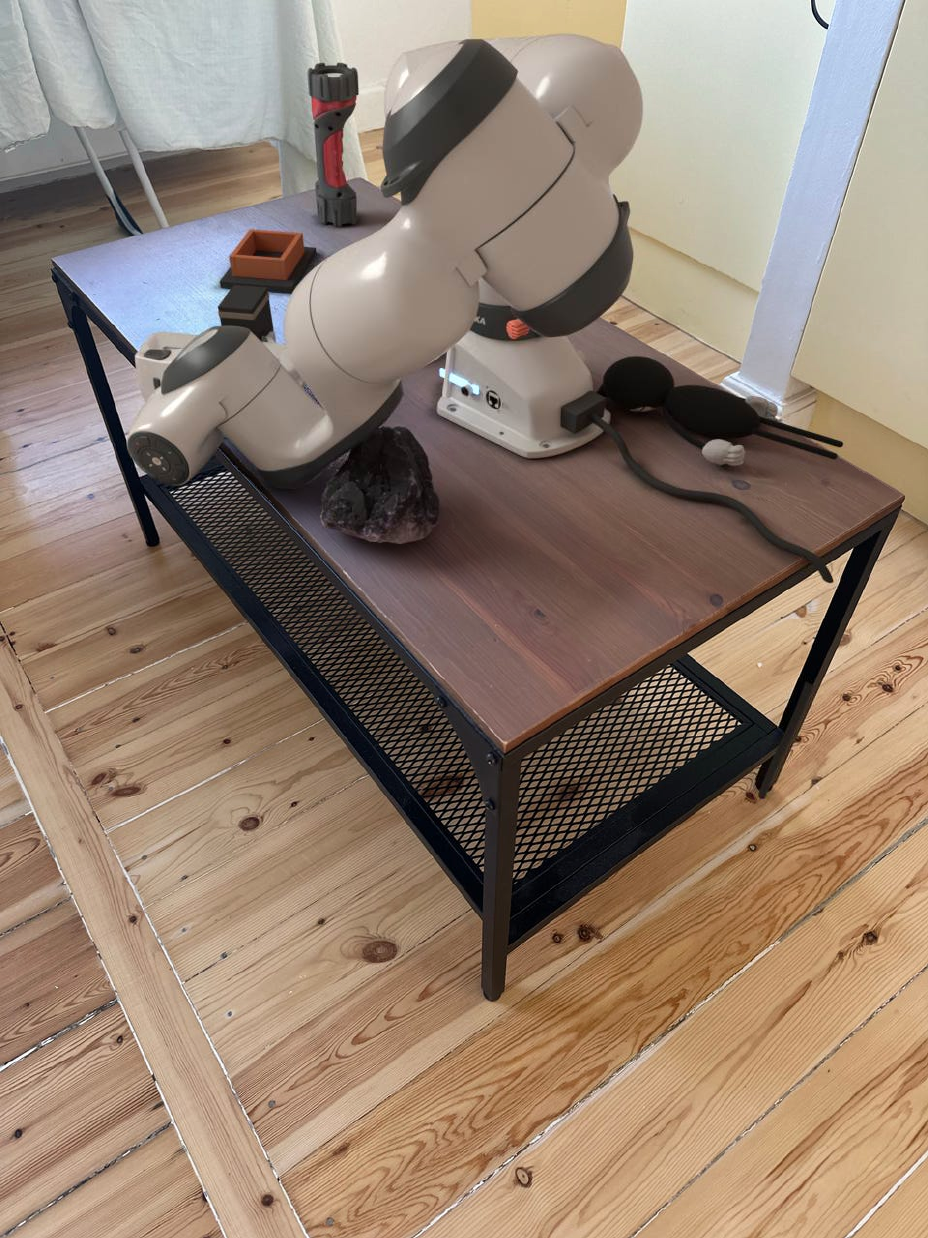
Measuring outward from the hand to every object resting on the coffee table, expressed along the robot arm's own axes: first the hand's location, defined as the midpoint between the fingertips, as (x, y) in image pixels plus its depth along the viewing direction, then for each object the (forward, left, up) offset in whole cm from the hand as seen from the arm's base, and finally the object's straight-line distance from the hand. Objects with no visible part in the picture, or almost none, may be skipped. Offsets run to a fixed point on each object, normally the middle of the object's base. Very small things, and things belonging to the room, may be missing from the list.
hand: (247, 334), depth 117 cm
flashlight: (+34, -36, -5) cm, 50 cm away
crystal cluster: (-36, +5, -5) cm, 37 cm away
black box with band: (0, 0, -5) cm, 5 cm away
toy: (-60, -41, -3) cm, 73 cm away
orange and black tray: (+25, -17, -5) cm, 31 cm away
